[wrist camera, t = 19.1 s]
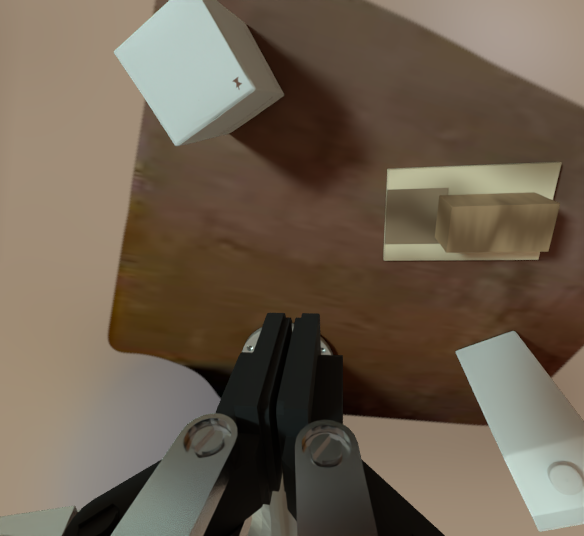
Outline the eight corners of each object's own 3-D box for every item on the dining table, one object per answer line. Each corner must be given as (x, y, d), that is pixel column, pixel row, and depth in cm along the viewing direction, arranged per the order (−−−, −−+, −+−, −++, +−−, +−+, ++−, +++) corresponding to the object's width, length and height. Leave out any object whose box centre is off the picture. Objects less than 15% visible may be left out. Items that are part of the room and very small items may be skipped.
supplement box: (245, 19, 33) (193, -26, 21) (286, 96, 35) (259, 91, 24) (184, 67, 35) (108, 49, 24) (226, 136, 37) (175, 149, 26)
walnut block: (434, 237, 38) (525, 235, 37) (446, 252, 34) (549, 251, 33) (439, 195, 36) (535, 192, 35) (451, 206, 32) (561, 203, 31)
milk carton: (532, 372, 44) (652, 540, 27) (475, 390, 47) (552, 556, 29) (514, 329, 42) (630, 482, 25) (454, 350, 44) (524, 503, 27)
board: (535, 257, 38) (538, 260, 38) (383, 258, 41) (383, 260, 40) (558, 161, 34) (562, 162, 34) (387, 168, 37) (388, 170, 36)
